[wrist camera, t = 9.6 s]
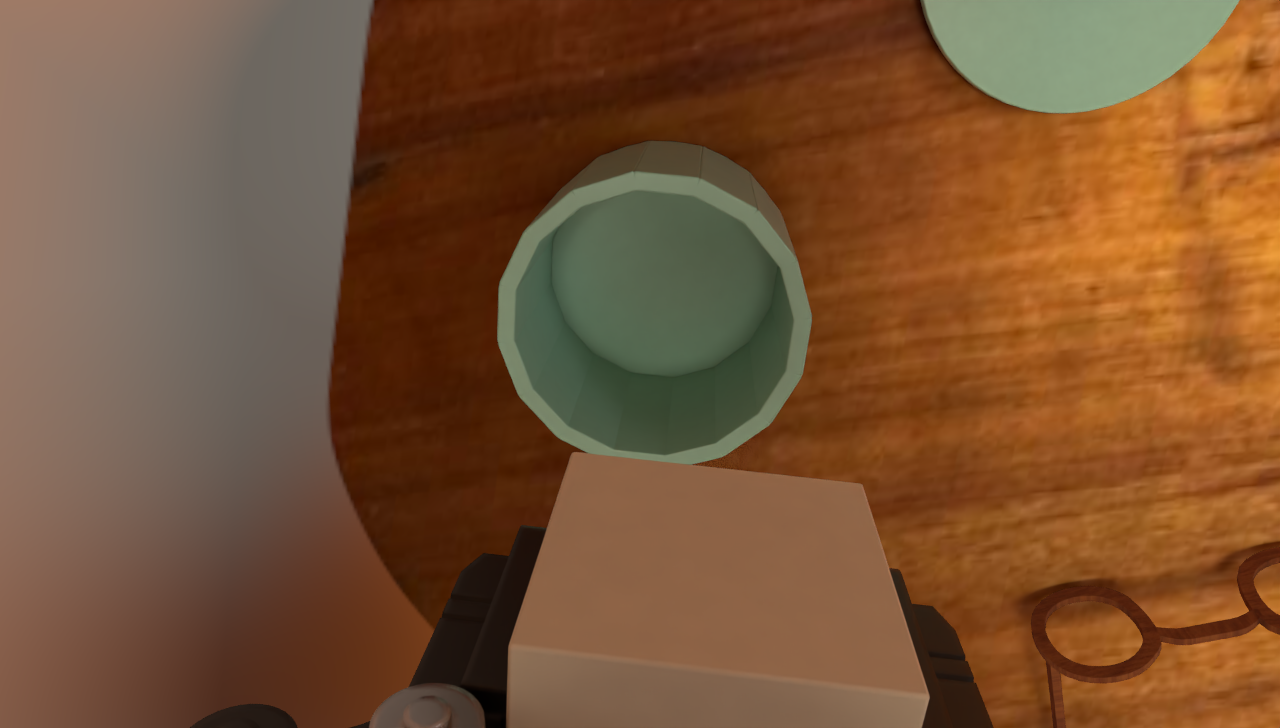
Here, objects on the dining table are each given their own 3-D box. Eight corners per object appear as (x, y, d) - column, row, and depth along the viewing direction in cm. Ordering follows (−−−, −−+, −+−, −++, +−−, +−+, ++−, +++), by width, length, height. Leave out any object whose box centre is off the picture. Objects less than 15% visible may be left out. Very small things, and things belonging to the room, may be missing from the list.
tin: (534, 370, 37) (493, 451, 30) (544, 128, 33) (501, 157, 26) (770, 397, 37) (784, 484, 30) (809, 154, 33) (834, 191, 26)
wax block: (558, 678, 15) (499, 929, 11) (572, 449, 13) (507, 645, 9) (816, 708, 15) (856, 978, 10) (863, 482, 13) (932, 696, 9)
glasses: (1327, 530, 37) (1415, 604, 32) (1337, 755, 41) (1415, 848, 37) (1013, 593, 39) (1053, 669, 35) (1053, 799, 44) (1093, 891, 39)
